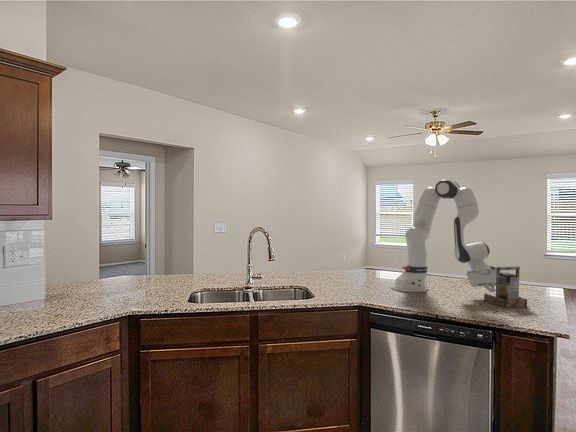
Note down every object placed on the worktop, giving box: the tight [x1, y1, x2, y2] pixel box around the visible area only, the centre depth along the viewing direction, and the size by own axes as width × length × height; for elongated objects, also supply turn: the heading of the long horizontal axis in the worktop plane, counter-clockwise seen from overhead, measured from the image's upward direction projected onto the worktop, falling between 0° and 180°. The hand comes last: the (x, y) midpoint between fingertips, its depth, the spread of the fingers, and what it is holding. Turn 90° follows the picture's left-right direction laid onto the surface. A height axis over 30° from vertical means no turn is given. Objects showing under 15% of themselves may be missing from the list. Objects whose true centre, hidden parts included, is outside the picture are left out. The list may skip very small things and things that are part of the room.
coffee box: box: [499, 272, 520, 300], centre depth 215 cm, size 9×6×16 cm
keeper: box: [483, 266, 528, 309], centre depth 215 cm, size 13×15×20 cm
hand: (492, 291), depth 224 cm, fingers closed
